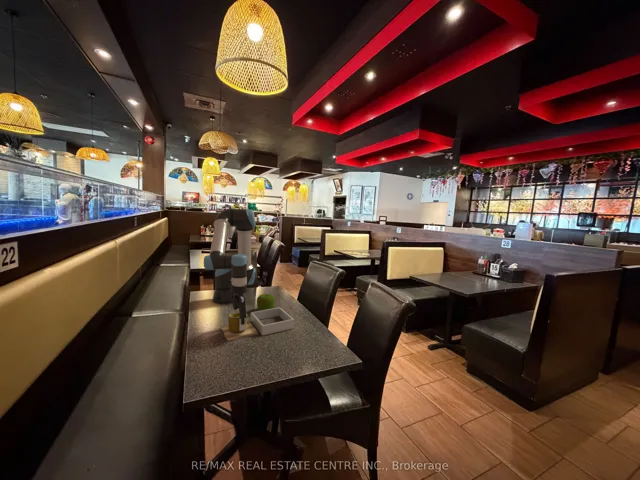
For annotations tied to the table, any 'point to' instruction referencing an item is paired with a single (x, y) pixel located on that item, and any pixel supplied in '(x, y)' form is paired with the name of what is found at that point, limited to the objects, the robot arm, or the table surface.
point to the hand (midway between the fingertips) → (239, 325)
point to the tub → (272, 327)
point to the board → (232, 336)
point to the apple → (265, 302)
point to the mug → (235, 322)
